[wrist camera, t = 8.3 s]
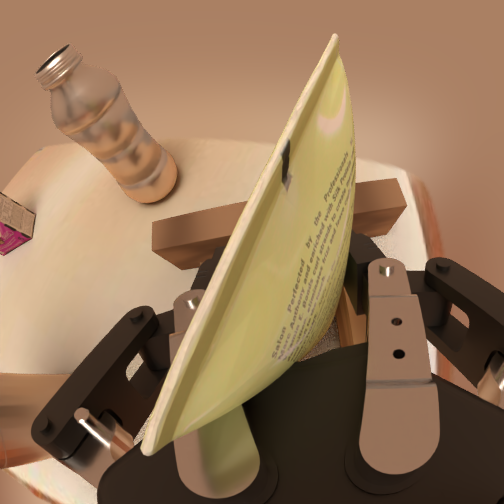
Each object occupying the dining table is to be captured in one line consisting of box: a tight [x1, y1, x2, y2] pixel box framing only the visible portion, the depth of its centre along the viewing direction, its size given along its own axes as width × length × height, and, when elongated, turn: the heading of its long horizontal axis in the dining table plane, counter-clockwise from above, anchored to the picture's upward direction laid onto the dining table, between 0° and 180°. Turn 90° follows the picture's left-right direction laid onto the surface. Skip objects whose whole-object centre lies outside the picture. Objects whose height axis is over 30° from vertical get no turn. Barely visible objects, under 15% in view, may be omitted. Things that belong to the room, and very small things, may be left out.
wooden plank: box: [152, 178, 407, 270], centre depth 22 cm, size 20×2×6 cm, turn 98°
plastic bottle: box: [34, 43, 177, 203], centre depth 21 cm, size 6×7×20 cm
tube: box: [140, 34, 356, 456], centre depth 12 cm, size 6×5×20 cm
